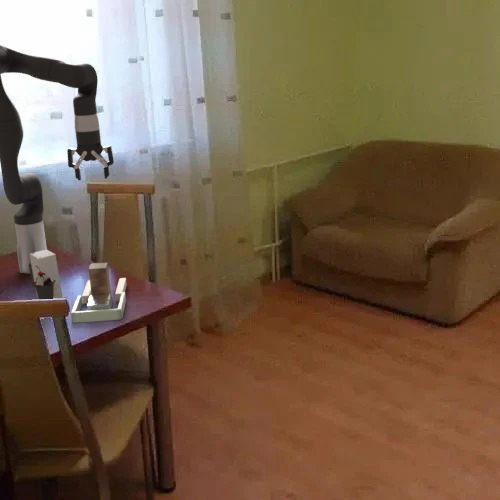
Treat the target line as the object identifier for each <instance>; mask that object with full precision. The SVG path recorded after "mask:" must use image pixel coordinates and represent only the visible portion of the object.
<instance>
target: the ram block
mask: <svg viewBox="0 0 500 500" xmlns="http://www.w3.org/2000/svg"><path fill="white" fill-rule="evenodd" d="M109 272H110V271H109V263H108V262H96V263H95V262H94V263H90V264H89V266H88V275H89V280H90V285H91V294H92V295H105V294H111V295H112V291H111V280H110V273H109ZM111 302H113V299H112V297H111Z"/></svg>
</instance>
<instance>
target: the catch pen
mask: <svg viewBox="0 0 500 500" xmlns="http://www.w3.org/2000/svg"><path fill="white" fill-rule="evenodd" d="M126 303H127V297H126V291H125V292H122V293H121V297H120V301H118V306H117V308H111V309H104V310H90V311H88V310H82V307H83V302H82V294H81V295H79V294H77V297H76V300H75V302H74V305H73V307H72V309H71V312H70V316H71V323H72V324H76V323H77V324H78V323H88V322H105V321H117V320H118V321H119V320H121V321H122V320H123V318H124V317H123V316H124V312H125V307H126V305H127V304H126Z"/></svg>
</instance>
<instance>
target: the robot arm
mask: <svg viewBox="0 0 500 500" xmlns="http://www.w3.org/2000/svg"><path fill="white" fill-rule="evenodd" d="M7 73H8V74H9V73H10V74H13V73H14V74H24V75H28V76H30V77H32V78H35V79H37V80H41V81H45V82H50V83H58V84H60V85H63V86H65V87H67V88H73V89H77V94H76V96H74V97H73V99H72V106H73V107H72V108H73V114H74V115H73V116H74V129H75V140H76V148H73V147H69V148H67V166H68V168H72V169H74V175H75V179H77V181H81V180H82V175H81V168H80V166H81V164H82V163H83V161H85V162H90V161H94V162H96V161H97V162H99V163H101V165H102V166H103V174H104V179H108V177H109V176H110V167H109V166H112V165H114V163H115V160H114V154H113V149H112V148H113V147H112V145H111V144H109V145H108V146H107V145H106V146H102V139H101V133H100V131H101V130H100V123H99V122H100V121H99V117H98V111H97V103H96V97H97V91H98V73H97V71H96V69H95V67H94V66H93V65H91V64H90V63H80V64H69V63H66V62H65V61H63V60H60V59H56V58H55V59H54V58H50V57H44V56H43V57H42V56H37V55H31V54H26V53H22V52H20V51H16V50H13V49H11V48H9V47H7V46H3V45H0V168H1V176H2V177H1V178H2V185H3V190H4V195H5V197H6V198H7V200H8V202H9V203H10V204H12V205H15V206H17V205H18V206H19V205H21V204H22V206H21V208H19V210H18V211H17V212H16V213H14V216H13V220H14V227H15V234H16V240H17V245H16V253H17V261H18V267H19V268H18V269H19V273H20V274H28V275H31V274H30V270H29V266H28V265H29V263H31V259H30V253H34V252H38V251H42V250H48V248H47V242H46V233H45V225H44V219H43V217H44V216H43V215H44V199H43V198H44V196H43V195H44V194H43V187H42V183H41V180H40V179H39V177H38V176H37V175H36V174H35V173H33V172H28V173H27V172H26V173H22V174H20V172H19V166H18V163H19V162H18V159H19V154H20V150H21V147H22V143H23V140H24V128H23V125H22V120H21V114H20V112H19V110H18V108H17V107H16V105H15V104H14V102H13V101H12V99H11V98H10V97H9V95H8V93H7V91H6V89H5V87H4V83H3V80H2V76H1V75H3V74H7ZM103 151H104V152H105V154H107V156H108V158H107V159H108V161H107V160H106V159H105V158H104V156H103V155H102V152H103ZM76 153H77V155H79V158H78V160H77V161H76V163H74V155H75V154H76Z"/></svg>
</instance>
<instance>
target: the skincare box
mask: <svg viewBox="0 0 500 500" xmlns="http://www.w3.org/2000/svg"><path fill="white" fill-rule="evenodd" d="M30 259H31V265H32V271H33V277H34V281H33V282H35V280H36V278H37V277H38V273H39V272H40V271H41V272H42V273H46V274H47V275H48V276H49V277H50V278H51V279H53V280H56V282H55V283H54V295H53V298H63V299H64V297H63V296H64V295H63V292H62V286H61V280H60V275H59V274H60V273H59V268H58V267H59V266H58V261H57V256H56V253H55V252H54V253H53V252H52V251H50V250H48V249H47V250H42V251H38V252H34V253H30ZM36 266H38V267H39V268H37V267H36ZM39 269H40V270H39ZM35 293H36V299H38V300H39V298H38V295H37V291H36V290H35Z"/></svg>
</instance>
